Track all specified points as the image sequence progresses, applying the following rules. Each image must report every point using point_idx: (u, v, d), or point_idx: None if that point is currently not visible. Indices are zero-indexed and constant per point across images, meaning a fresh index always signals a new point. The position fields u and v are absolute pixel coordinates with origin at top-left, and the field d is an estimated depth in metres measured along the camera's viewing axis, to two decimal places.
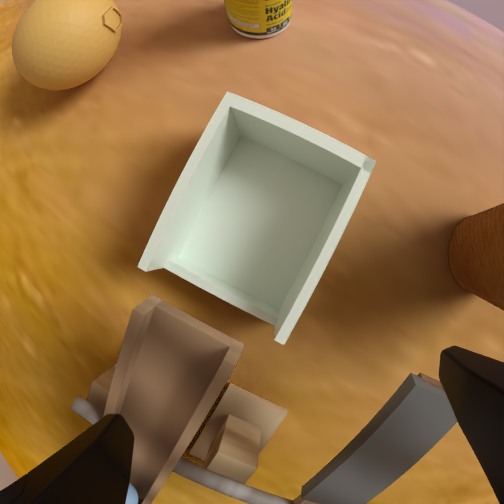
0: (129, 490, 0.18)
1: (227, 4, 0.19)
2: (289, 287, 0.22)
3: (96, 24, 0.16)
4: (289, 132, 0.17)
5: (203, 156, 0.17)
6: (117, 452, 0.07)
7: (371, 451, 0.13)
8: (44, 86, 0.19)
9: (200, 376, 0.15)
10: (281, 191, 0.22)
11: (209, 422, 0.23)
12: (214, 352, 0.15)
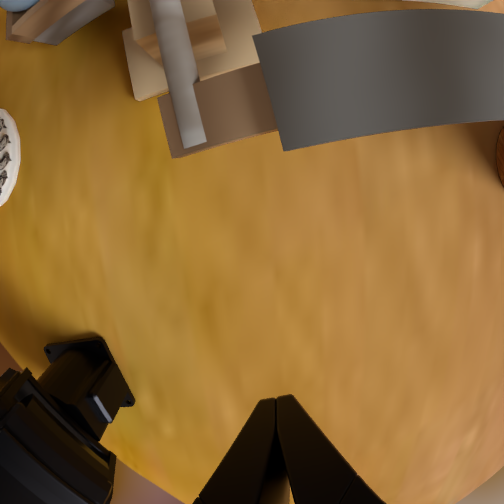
0: None
1: None
2: None
3: None
4: None
5: None
6: None
7: (426, 29, 0.07)
8: None
9: None
10: None
11: None
12: None
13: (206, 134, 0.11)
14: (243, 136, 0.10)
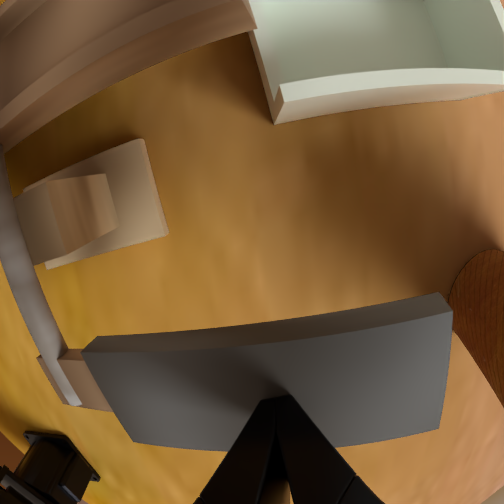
0: None
1: None
2: None
3: None
4: None
5: None
6: None
7: (266, 371, 0.07)
8: None
9: None
10: (399, 29, 0.12)
11: (76, 165, 0.14)
12: None
13: (80, 398, 0.10)
14: (106, 410, 0.10)
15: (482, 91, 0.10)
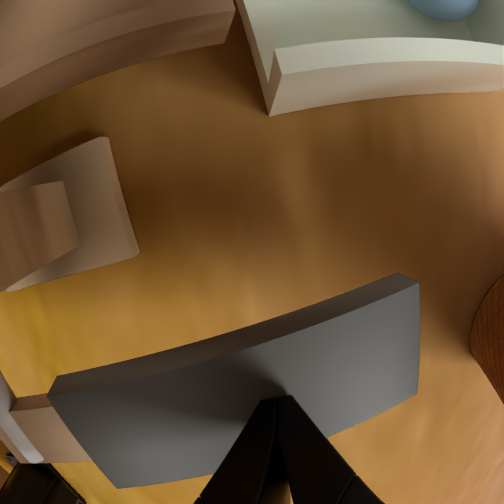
0: (410, 0, 0.08)
1: None
2: None
3: None
4: None
5: None
6: None
7: (267, 371, 0.07)
8: None
9: None
10: None
11: (31, 171, 0.11)
12: None
13: (40, 453, 0.07)
14: (75, 460, 0.08)
15: None
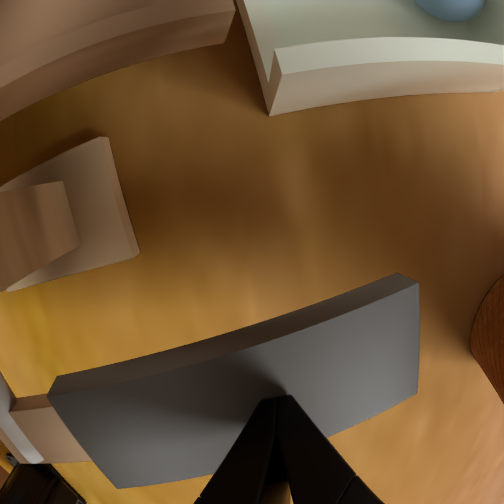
0: None
1: None
2: None
3: None
4: None
5: None
6: None
7: (267, 371, 0.07)
8: None
9: None
10: None
11: (31, 171, 0.11)
12: None
13: (40, 453, 0.07)
14: (75, 460, 0.08)
15: None
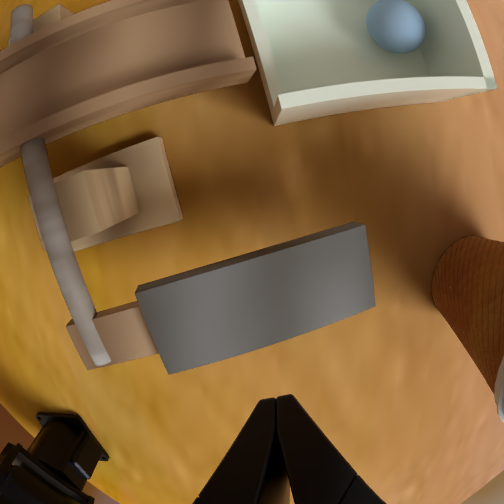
0: (375, 36, 0.13)
1: None
2: None
3: None
4: (455, 1, 0.09)
5: None
6: None
7: (274, 271, 0.13)
8: None
9: (189, 65, 0.12)
10: None
11: (101, 159, 0.17)
12: (229, 58, 0.12)
13: (109, 355, 0.13)
14: (137, 357, 0.13)
15: (455, 94, 0.13)
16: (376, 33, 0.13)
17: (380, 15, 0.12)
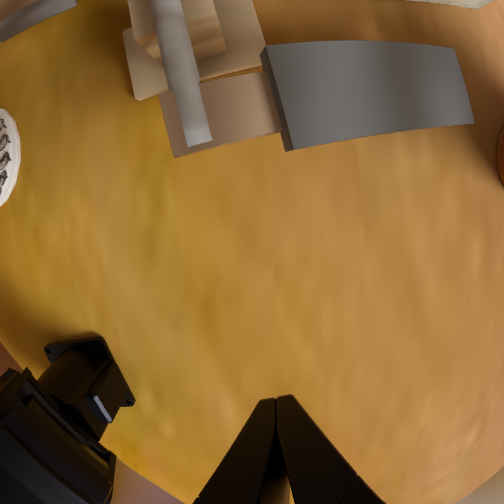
0: None
1: None
2: None
3: None
4: None
5: None
6: None
7: (395, 57, 0.11)
8: None
9: None
10: None
11: None
12: None
13: (211, 133, 0.11)
14: (248, 136, 0.11)
15: None
16: None
17: None
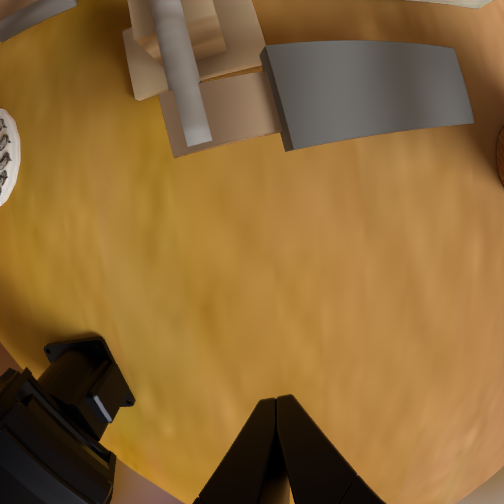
0: None
1: None
2: None
3: None
4: None
5: None
6: None
7: (395, 57, 0.11)
8: None
9: None
10: None
11: None
12: None
13: (211, 133, 0.11)
14: (248, 136, 0.11)
15: None
16: None
17: None
